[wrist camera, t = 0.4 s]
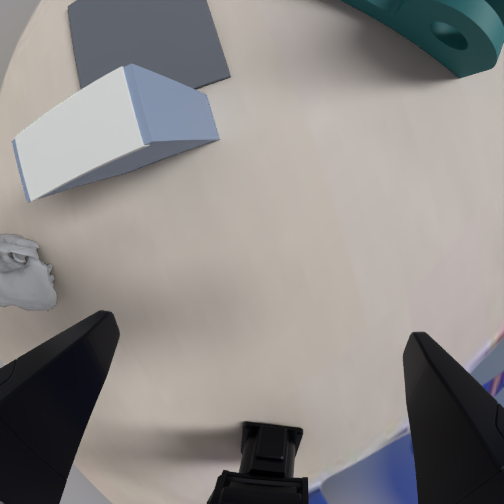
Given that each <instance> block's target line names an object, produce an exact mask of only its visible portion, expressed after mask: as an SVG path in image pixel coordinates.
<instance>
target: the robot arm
mask: <svg viewBox="0 0 504 504" xmlns="http://www.w3.org/2000/svg"><path fill="white" fill-rule="evenodd" d="M119 336H120V332H119V328H118V325H117V323H116V320H115V317H114V314H113V313H112V312H110V311H104V310H100V311H98V312H96V313H94V314H93V315H91V316H89V317H87V318H86V319H84V320H82V321H80V322H79V323H77V324H75V325H73V326H72V327H70V328H68V329H67V330H65V331H63V332H61V333H60V334H58V335H56V336H54V337H53V338H51V339H49V340H48V341H46V342H44V343H42V344H41V345H39V346H37V347H36V348H34V349H32V350H31V351H29V352H27V353H25V354H24V355H22V356H20V357H19V358H17V359H15V360H14V361H12V362H10V363H9V364H7V365H5V366H4V367H2V368H0V504H59V503H60V500H61V497H62V493H63V491H64V488H65V485H66V481H67V480H66V479H67V478H68V475H69V472H70V469H71V466H72V464H73V461H74V458H75V455H76V453H77V450H78V447H79V444H80V442H81V439H82V436H83V434H84V431H85V429H86V426H87V423H88V421H89V418H90V416H91V413H92V411H93V408H94V406H95V404H96V401H97V399H98V396H99V394H100V391H101V389H102V387H103V384H104V382H105V380H106V377H107V374H108V371H109V368H110V365H111V362H112V359H113V356H114V352H115V349H116V346H117V343H118V340H119ZM403 366H404V378H405V392H406V404H407V411H408V417H409V423H410V430H411V437H412V444H413V452H414V459H415V469H416V480H417V491H418V504H504V408H503V407H502V406H501V405H500V404H498V402H497V401H496V400H495V399H494V398H493V397H492V396H491V395H490V394H489V393H488V392H487V391H486V390H485V389H484V388H483V387H482V386H481V385H480V384H479V383H478V382H477V381H476V380H475V379H474V378H473V377H472V376H471V375H470V374H469V373H468V372H467V371H466V370H465V369H464V368H463V367H462V366H461V365H460V364H459V363H458V362H457V361H456V360H455V359H454V358H453V357H452V356H450V355H449V354H448V353H447V352H446V351H445V350H444V349H443V348H442V347H441V346H440V345H439V344H438V343H437V342H436V341H434V340H433V339H432V338H431V337H430V336H429V335H428V334H427V333H426V332H412V333H411V335H410V337H409V339H408V342H407V345H406V347H405V350H404V353H403ZM302 435H303V429H301V428H293V427H283V426H274V425H266V424H258V423H251V422H245V423H244V426H243V435H242V446H241V453H242V454H243V455H242V460H241V465H240V469H239V473H236V472H229V471H228V470H223V472H222V475H220V476H219V477H218V479H217V483H216V486H215V489H214V491H213V493H212V494H211V496H210V498H209V499H208V501H207V504H308V477H303V478H293V474H294V460H295V456H296V453H297V450H298V448H299V445H300V442H301V439H302Z"/></svg>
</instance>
